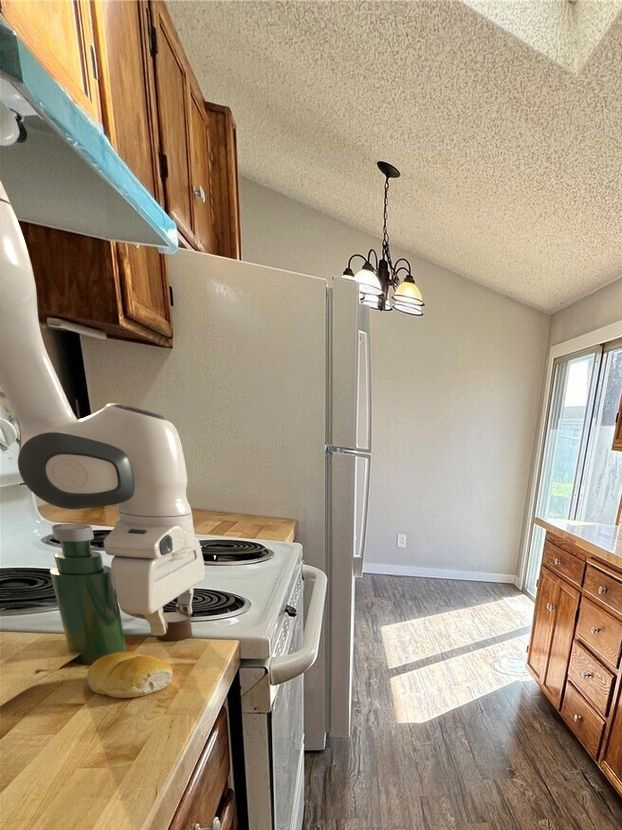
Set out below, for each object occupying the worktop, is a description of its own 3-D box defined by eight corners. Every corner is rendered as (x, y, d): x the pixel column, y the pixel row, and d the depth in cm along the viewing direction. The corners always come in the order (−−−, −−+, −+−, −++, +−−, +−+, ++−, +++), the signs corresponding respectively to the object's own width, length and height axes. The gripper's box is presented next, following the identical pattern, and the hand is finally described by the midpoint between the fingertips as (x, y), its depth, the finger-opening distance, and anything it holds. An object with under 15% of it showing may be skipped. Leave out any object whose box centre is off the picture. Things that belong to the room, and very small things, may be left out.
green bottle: (59, 663, 73) (26, 528, 66) (87, 645, 79) (59, 519, 72) (112, 665, 74) (85, 533, 67) (136, 648, 80) (113, 524, 73)
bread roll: (131, 666, 74) (126, 638, 73) (185, 680, 72) (181, 652, 71) (70, 689, 67) (62, 659, 65) (128, 706, 65) (121, 675, 63)
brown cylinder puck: (150, 640, 83) (147, 621, 82) (164, 629, 87) (161, 611, 86) (184, 641, 84) (182, 623, 82) (197, 631, 88) (195, 613, 87)
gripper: (167, 519, 88) (179, 602, 93) (95, 544, 69) (116, 647, 75) (210, 522, 89) (219, 605, 94) (149, 548, 70) (166, 649, 76)
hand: (173, 624), depth 85 cm, fingers open, 7 cm apart
